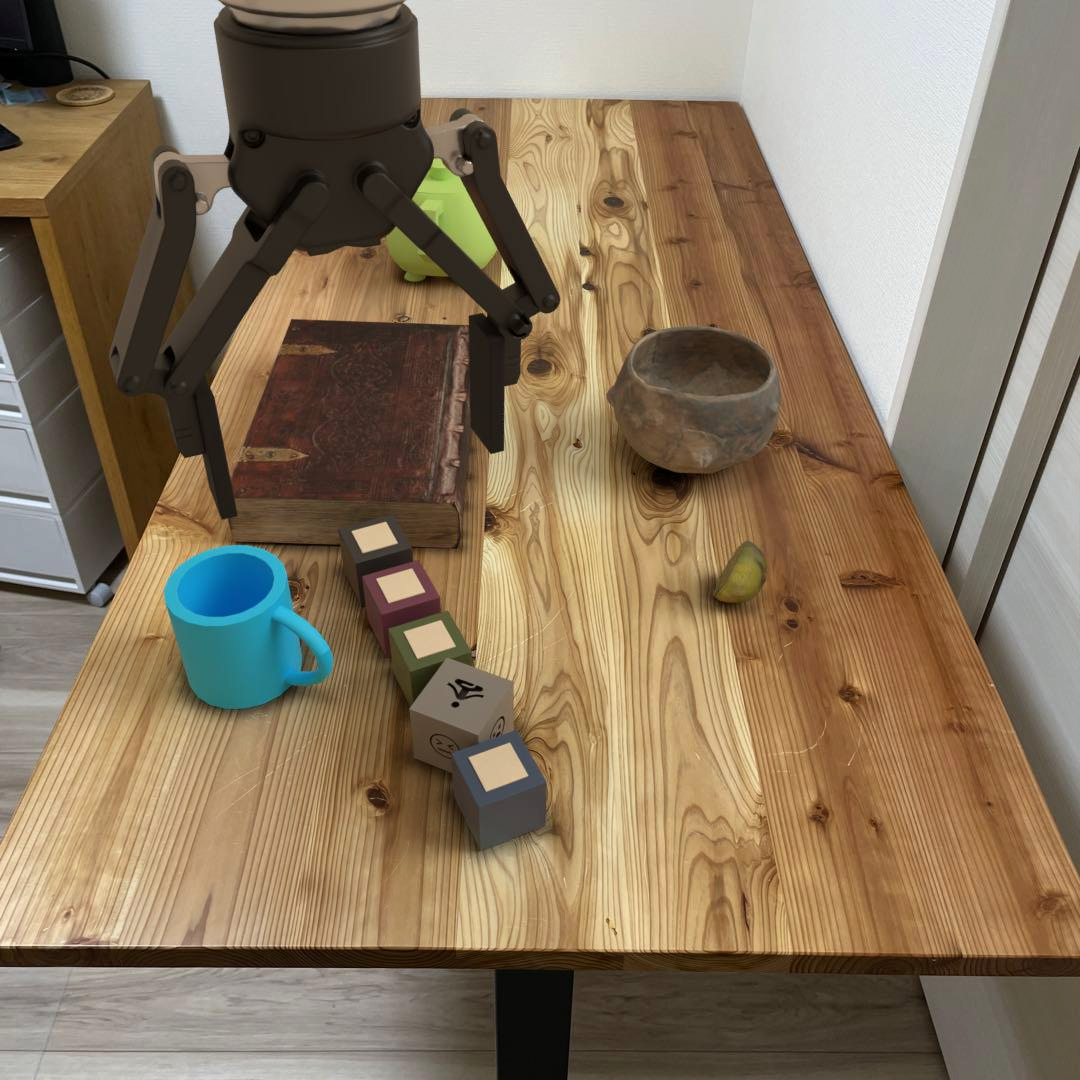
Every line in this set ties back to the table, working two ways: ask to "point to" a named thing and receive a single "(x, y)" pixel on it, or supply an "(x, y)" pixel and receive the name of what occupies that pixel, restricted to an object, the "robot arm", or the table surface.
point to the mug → (240, 628)
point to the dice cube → (459, 712)
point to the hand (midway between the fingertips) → (361, 469)
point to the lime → (742, 575)
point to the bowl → (696, 398)
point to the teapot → (443, 225)
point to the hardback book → (358, 434)
